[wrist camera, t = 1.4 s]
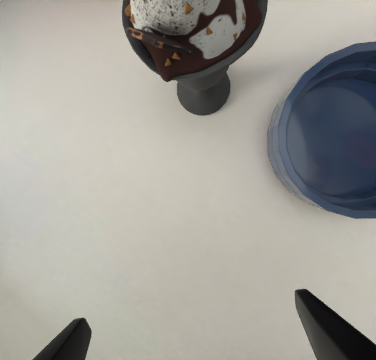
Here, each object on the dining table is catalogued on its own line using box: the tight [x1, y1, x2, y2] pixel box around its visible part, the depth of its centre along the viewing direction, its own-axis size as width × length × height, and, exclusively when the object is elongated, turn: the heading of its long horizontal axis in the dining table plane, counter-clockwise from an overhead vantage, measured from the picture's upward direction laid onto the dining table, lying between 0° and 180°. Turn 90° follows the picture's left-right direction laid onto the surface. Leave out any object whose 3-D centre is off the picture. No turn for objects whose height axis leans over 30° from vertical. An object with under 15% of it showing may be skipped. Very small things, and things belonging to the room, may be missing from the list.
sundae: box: [122, 0, 268, 115], centre depth 12 cm, size 7×7×15 cm
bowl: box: [267, 42, 376, 219], centre depth 16 cm, size 12×12×4 cm
